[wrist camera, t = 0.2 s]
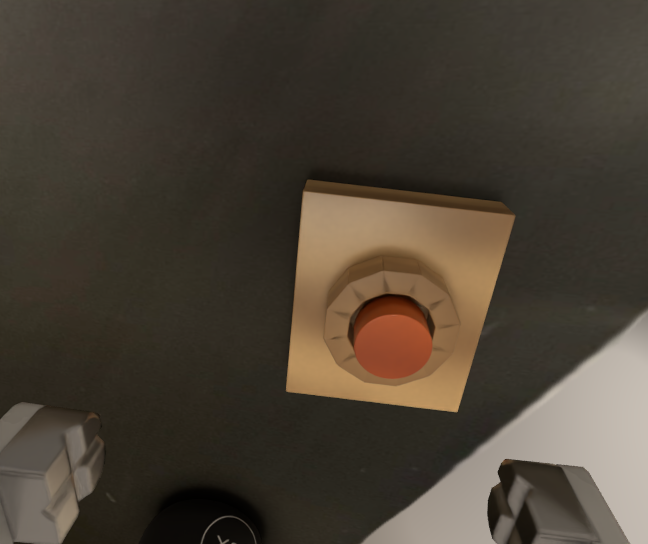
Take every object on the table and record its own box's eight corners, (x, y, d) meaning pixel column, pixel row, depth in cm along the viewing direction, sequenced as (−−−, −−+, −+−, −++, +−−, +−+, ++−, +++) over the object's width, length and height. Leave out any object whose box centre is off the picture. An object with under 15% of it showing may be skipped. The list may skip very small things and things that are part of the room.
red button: (358, 291, 22) (359, 309, 20) (434, 300, 22) (440, 319, 20) (349, 353, 23) (349, 374, 22) (419, 361, 23) (424, 384, 22)
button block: (307, 178, 23) (298, 201, 20) (502, 201, 23) (529, 228, 20) (290, 368, 28) (281, 414, 25) (450, 387, 28) (464, 436, 25)
